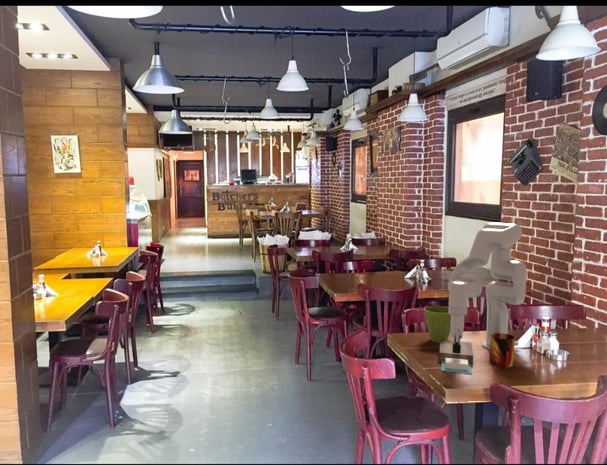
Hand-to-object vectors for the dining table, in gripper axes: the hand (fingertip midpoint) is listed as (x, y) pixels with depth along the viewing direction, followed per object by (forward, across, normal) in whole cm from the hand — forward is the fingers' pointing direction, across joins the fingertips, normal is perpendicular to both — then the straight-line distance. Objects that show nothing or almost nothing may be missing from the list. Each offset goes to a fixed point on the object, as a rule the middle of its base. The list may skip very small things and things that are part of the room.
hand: (456, 352), depth 213 cm
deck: (+5, -12, 0) cm, 13 cm away
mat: (+5, +4, 0) cm, 7 cm away
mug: (+6, -6, +20) cm, 22 cm away
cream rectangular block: (+2, +4, 0) cm, 5 cm away
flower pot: (+6, -34, -8) cm, 35 cm away
